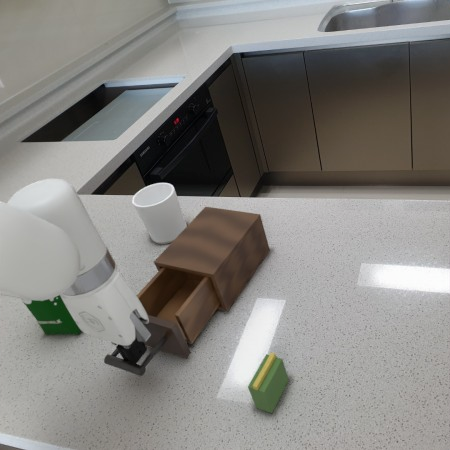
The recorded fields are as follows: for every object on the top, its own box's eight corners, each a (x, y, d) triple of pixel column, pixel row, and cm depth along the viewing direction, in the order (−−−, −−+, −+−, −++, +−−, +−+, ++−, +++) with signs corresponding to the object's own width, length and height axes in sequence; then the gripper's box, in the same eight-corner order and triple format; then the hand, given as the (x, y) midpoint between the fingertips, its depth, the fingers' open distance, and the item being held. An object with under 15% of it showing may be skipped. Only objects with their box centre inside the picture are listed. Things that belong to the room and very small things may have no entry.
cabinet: (227, 312, 80) (213, 274, 75) (170, 297, 85) (153, 261, 80) (270, 250, 91) (260, 214, 86) (217, 241, 97) (205, 206, 91)
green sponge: (289, 379, 67) (281, 354, 64) (272, 413, 64) (262, 389, 60) (273, 375, 68) (265, 350, 65) (255, 408, 65) (245, 383, 61)
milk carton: (104, 300, 88) (53, 217, 76) (81, 339, 81) (21, 254, 69) (63, 302, 89) (7, 221, 77) (37, 340, 82) (-29, 257, 70)
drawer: (161, 395, 68) (142, 365, 63) (105, 374, 73) (84, 346, 68) (236, 289, 83) (225, 259, 79) (185, 278, 88) (173, 249, 83)
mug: (196, 231, 101) (181, 192, 95) (159, 251, 97) (141, 212, 91) (175, 212, 108) (160, 175, 102) (140, 230, 105) (122, 192, 99)
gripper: (22, 279, 60) (85, 363, 71) (105, 302, 54) (160, 391, 65) (65, 242, 65) (117, 326, 76) (146, 259, 59) (190, 348, 70)
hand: (137, 356), depth 70 cm, fingers closed
